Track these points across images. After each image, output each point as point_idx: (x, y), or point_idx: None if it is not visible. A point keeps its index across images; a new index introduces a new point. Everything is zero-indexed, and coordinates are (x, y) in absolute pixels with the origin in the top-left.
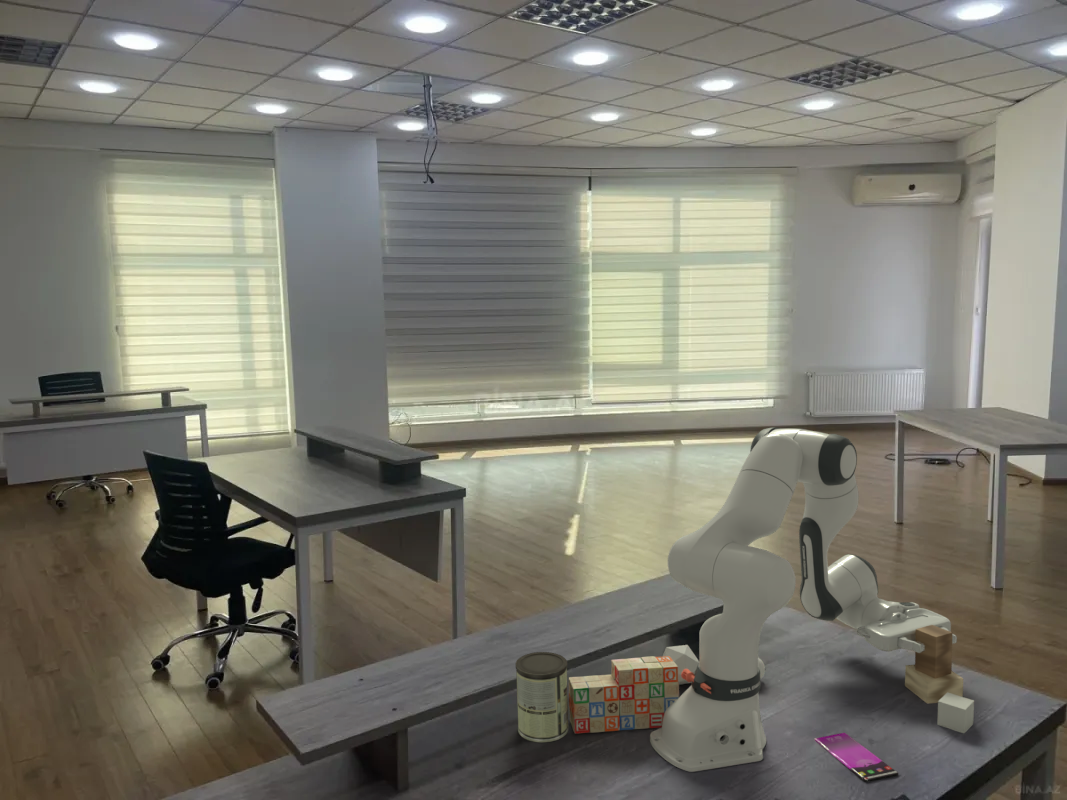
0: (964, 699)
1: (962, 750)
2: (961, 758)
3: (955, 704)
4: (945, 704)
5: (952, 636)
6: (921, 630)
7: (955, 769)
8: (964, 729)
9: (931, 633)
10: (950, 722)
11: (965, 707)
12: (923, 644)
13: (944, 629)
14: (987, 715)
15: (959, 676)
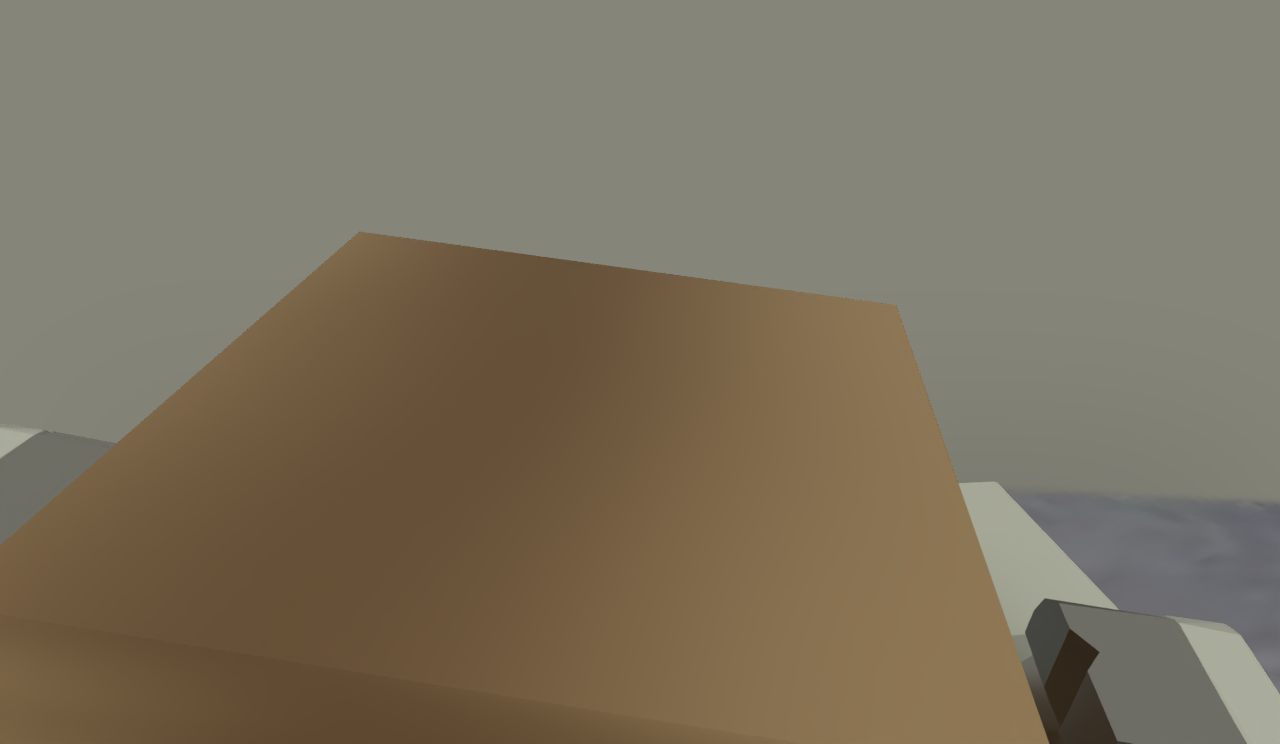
0: None
1: (1100, 569)
2: (1161, 547)
3: (1013, 535)
4: (1087, 584)
5: (100, 443)
6: (915, 594)
7: (1259, 531)
8: None
9: (821, 383)
10: None
11: (967, 490)
12: (1077, 608)
13: (266, 315)
14: None
15: None
